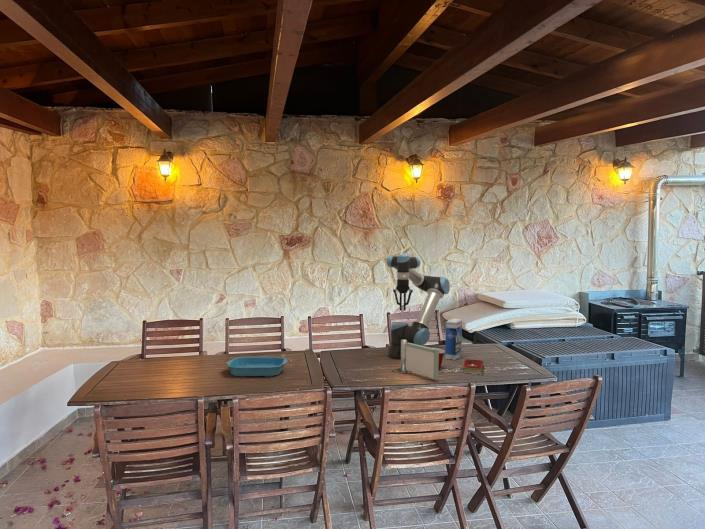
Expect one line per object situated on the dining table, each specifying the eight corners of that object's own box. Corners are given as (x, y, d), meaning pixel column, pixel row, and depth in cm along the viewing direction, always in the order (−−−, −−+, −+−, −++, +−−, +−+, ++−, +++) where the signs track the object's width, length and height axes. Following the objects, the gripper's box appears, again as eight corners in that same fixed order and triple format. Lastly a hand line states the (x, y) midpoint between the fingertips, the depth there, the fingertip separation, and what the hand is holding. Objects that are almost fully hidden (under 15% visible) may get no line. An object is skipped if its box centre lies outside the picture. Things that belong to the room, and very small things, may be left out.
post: (394, 371, 290) (394, 339, 288) (402, 368, 295) (403, 337, 294) (404, 374, 284) (404, 342, 283) (412, 371, 290) (413, 340, 288)
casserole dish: (221, 378, 275) (221, 366, 274) (231, 367, 297) (231, 355, 297) (284, 378, 275) (284, 366, 274) (289, 367, 297) (289, 356, 297)
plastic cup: (444, 371, 290) (445, 352, 289) (427, 370, 292) (427, 351, 291) (445, 366, 301) (445, 347, 300) (427, 365, 303) (428, 346, 302)
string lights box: (455, 360, 314) (456, 322, 312) (444, 358, 318) (445, 321, 316) (461, 356, 325) (462, 319, 323) (451, 354, 329) (451, 318, 327)
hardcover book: (483, 366, 303) (483, 359, 303) (482, 375, 283) (482, 369, 283) (464, 364, 307) (464, 358, 306) (461, 373, 287) (462, 367, 286)
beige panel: (405, 370, 287) (405, 343, 286) (407, 369, 289) (408, 342, 287) (435, 379, 270) (436, 350, 269) (438, 378, 272) (438, 349, 271)
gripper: (392, 279, 295) (392, 316, 297) (413, 279, 294) (413, 316, 296) (392, 278, 302) (392, 314, 304) (412, 278, 302) (412, 314, 303)
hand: (402, 315), depth 300 cm, fingers closed
